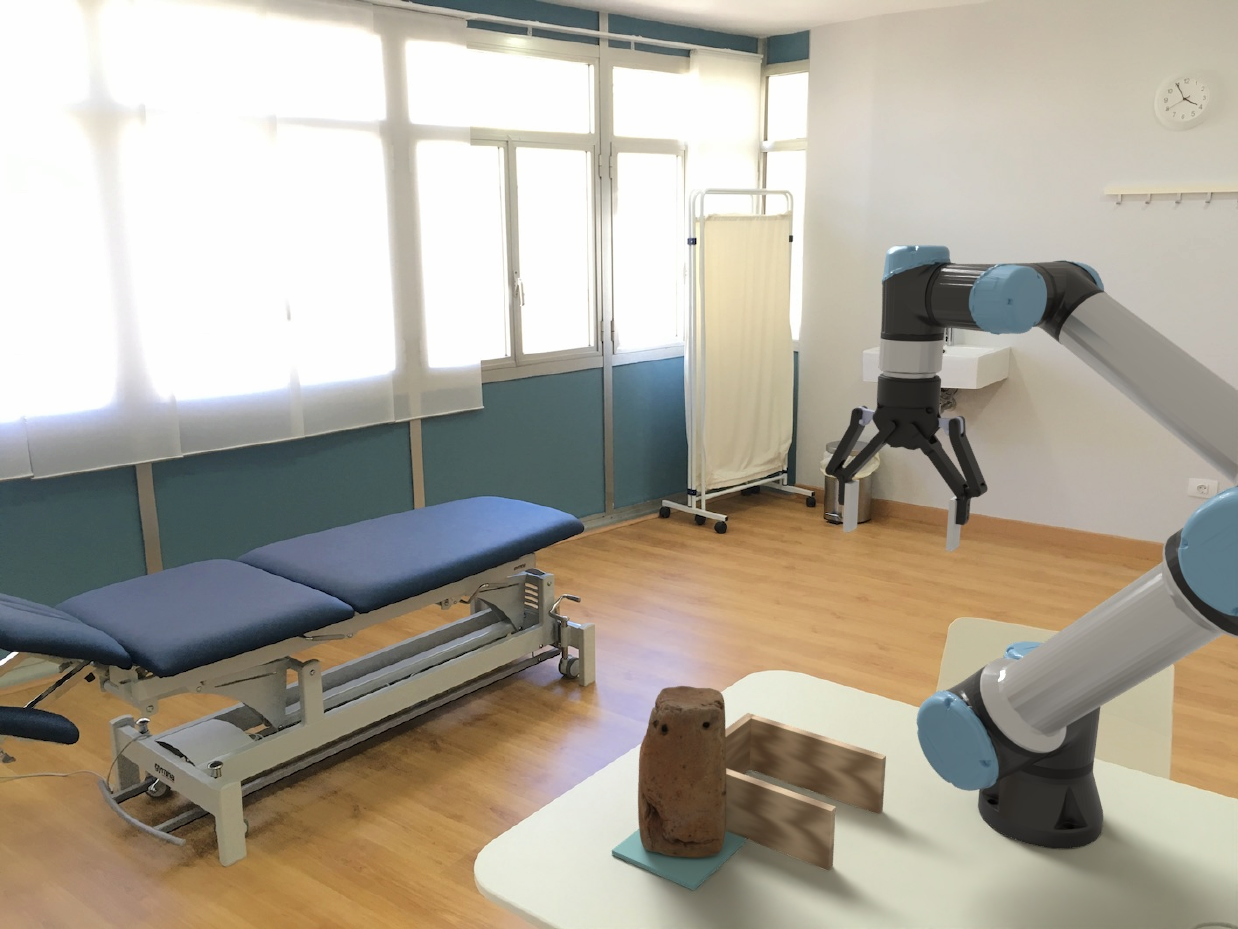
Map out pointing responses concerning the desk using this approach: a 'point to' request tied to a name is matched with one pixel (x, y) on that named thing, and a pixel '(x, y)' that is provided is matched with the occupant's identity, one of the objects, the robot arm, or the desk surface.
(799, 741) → the wooden u-shaped enclosure
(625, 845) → the mat
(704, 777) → the brown pitted rock
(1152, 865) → the desk surface
